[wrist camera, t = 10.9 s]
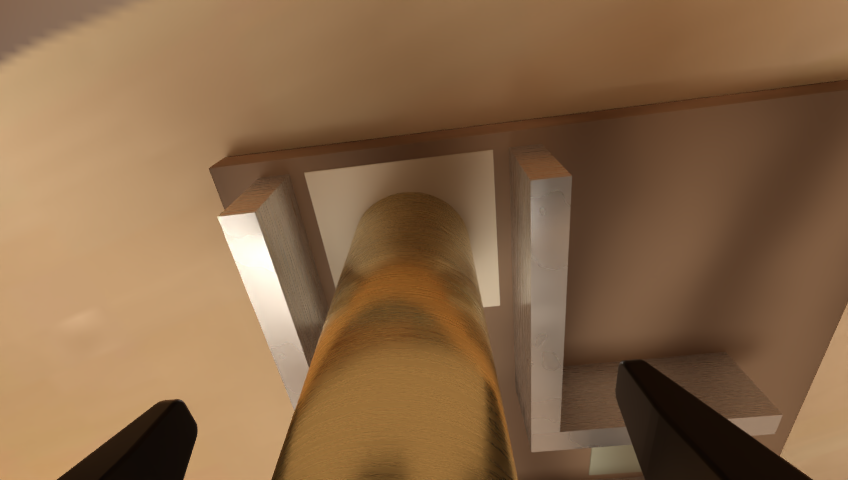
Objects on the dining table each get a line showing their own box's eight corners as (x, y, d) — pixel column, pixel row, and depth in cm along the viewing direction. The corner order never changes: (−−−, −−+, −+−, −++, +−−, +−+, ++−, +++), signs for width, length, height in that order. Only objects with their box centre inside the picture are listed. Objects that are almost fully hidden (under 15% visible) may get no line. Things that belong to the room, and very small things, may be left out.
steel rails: (795, 112, 12) (898, 138, 10) (686, 484, 21) (724, 552, 18) (259, 177, 13) (217, 216, 11) (367, 506, 22) (359, 573, 19)
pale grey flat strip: (904, 72, 13) (950, 77, 12) (747, 468, 22) (765, 492, 21) (225, 157, 14) (207, 169, 13) (347, 496, 23) (343, 520, 22)
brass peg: (464, 185, 13) (543, 514, 4) (473, 287, 15) (540, 662, 6) (343, 198, 13) (185, 536, 5) (365, 298, 15) (284, 673, 6)
